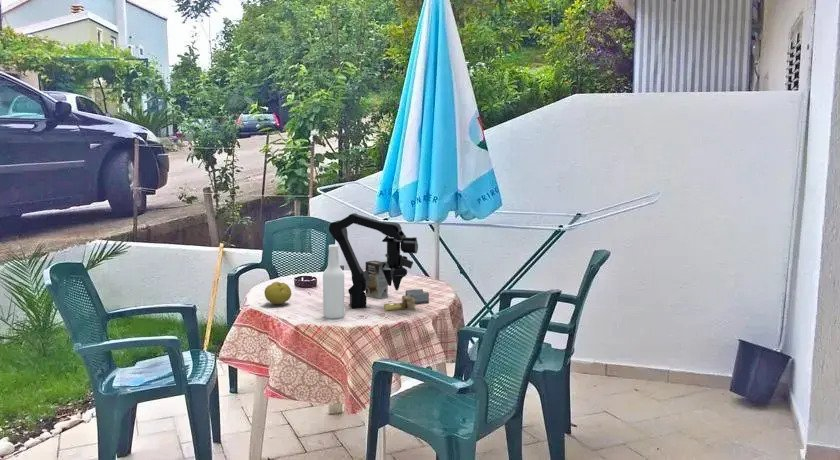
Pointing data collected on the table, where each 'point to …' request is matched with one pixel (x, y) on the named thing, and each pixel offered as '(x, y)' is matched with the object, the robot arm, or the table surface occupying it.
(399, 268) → the robot arm
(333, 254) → the alcohol
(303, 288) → the table surface
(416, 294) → the v block
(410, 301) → the bearing block
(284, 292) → the fruit
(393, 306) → the axle
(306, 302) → the table surface
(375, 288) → the coffee box
